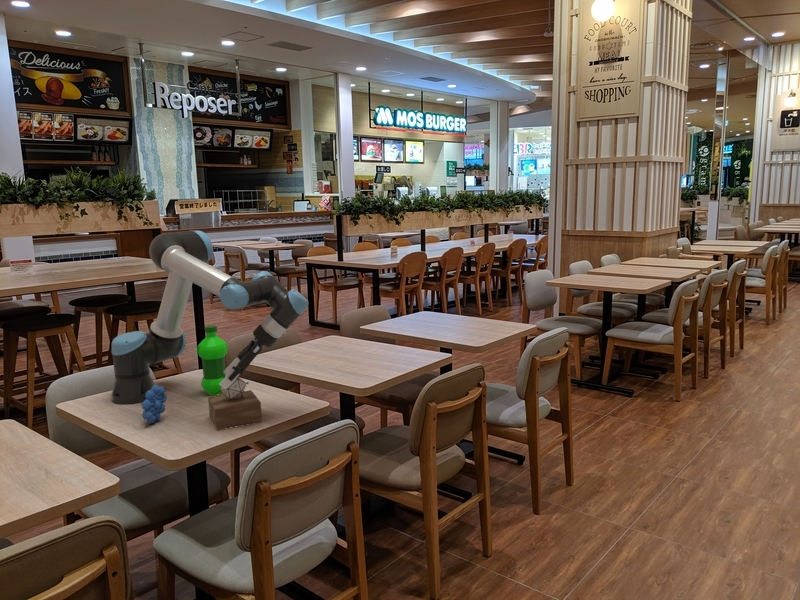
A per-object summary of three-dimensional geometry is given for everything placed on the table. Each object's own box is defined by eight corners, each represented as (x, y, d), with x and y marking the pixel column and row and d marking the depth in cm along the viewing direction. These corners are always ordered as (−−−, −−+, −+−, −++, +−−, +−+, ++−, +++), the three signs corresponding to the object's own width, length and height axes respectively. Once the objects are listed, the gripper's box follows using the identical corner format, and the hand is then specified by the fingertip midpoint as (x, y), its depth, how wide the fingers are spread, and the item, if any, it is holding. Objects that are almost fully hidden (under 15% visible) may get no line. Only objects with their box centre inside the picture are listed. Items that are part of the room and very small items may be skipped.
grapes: (155, 414, 205) (152, 380, 203) (173, 415, 203) (170, 380, 201) (133, 427, 193) (129, 391, 191) (151, 428, 192) (148, 391, 190)
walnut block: (209, 417, 201) (208, 397, 200) (252, 410, 207) (251, 390, 206) (216, 431, 189) (215, 409, 188) (262, 423, 195) (260, 402, 193)
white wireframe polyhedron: (239, 410, 197) (250, 390, 192) (213, 404, 194) (224, 384, 189) (242, 389, 204) (252, 370, 199) (216, 383, 201) (226, 363, 196)
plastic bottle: (234, 388, 230) (229, 323, 226) (224, 397, 220) (218, 329, 216) (208, 388, 231) (202, 323, 227) (197, 397, 221) (191, 330, 216)
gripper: (278, 347, 184) (230, 400, 184) (278, 330, 208) (236, 376, 208) (258, 332, 182) (210, 384, 182) (261, 316, 207) (219, 362, 207)
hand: (224, 380), depth 195 cm, fingers open, 13 cm apart
